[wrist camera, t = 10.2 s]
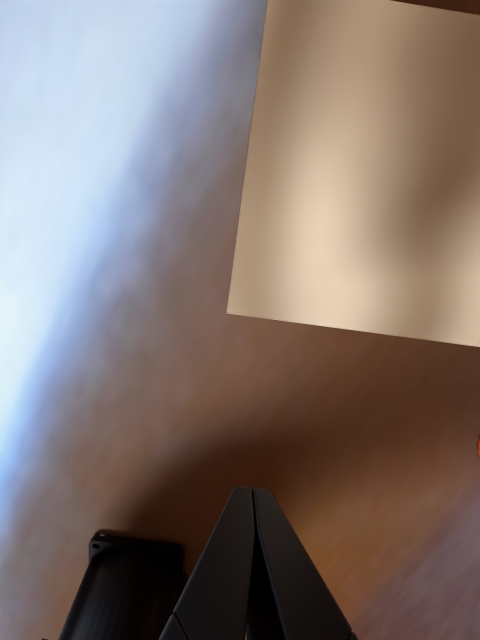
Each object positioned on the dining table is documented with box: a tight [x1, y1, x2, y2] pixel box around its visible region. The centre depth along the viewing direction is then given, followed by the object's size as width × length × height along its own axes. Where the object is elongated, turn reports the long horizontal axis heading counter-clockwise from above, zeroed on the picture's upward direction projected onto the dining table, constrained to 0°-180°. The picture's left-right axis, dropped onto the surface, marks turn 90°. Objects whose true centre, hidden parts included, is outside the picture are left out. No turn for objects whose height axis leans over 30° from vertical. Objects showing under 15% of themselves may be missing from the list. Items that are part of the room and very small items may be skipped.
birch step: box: [227, 0, 480, 347], centre depth 15 cm, size 14×11×4 cm
